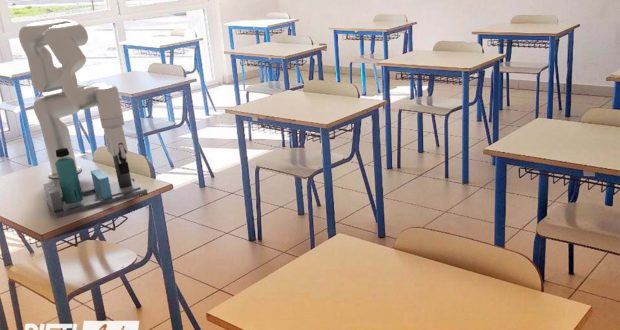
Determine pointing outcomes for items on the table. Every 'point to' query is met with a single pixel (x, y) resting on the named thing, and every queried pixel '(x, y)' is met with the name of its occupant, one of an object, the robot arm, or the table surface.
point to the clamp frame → (56, 200)
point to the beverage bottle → (68, 177)
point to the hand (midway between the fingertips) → (122, 171)
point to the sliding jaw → (115, 189)
